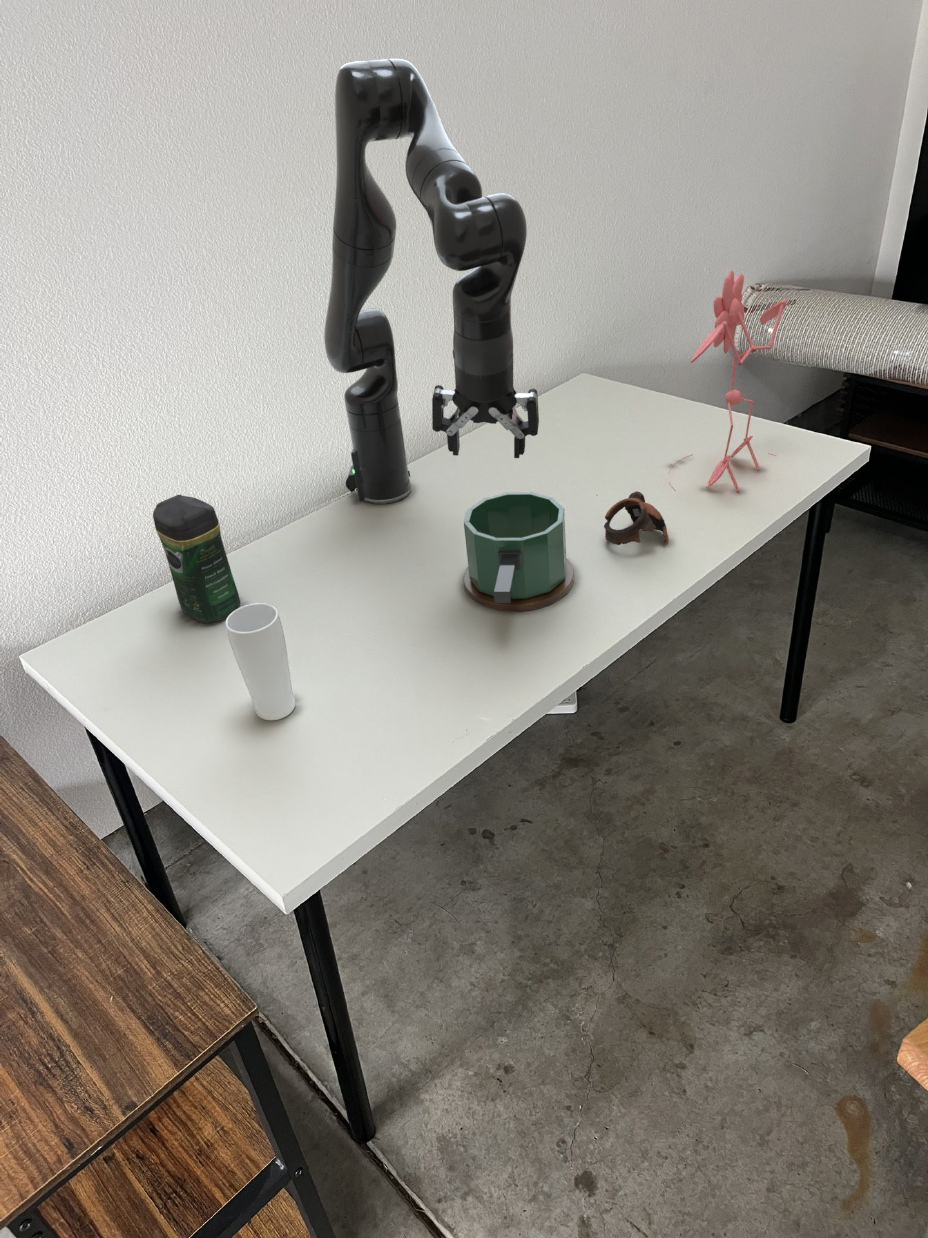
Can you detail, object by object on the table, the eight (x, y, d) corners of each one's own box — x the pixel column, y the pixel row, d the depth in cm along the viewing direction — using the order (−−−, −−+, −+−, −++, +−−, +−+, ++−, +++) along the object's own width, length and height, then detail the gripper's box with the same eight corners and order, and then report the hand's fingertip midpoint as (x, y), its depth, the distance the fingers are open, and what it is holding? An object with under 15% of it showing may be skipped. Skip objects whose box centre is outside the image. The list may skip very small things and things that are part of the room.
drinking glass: (253, 696, 130) (227, 605, 122) (302, 690, 130) (280, 599, 122) (248, 729, 125) (221, 636, 116) (300, 722, 125) (276, 629, 116)
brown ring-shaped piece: (675, 555, 150) (653, 523, 145) (621, 576, 154) (597, 545, 149) (668, 503, 158) (647, 470, 153) (616, 524, 162) (594, 493, 157)
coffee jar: (250, 607, 149) (222, 501, 138) (207, 631, 144) (174, 523, 134) (216, 587, 155) (186, 484, 144) (174, 609, 150) (140, 505, 140)
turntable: (460, 614, 142) (460, 607, 141) (467, 554, 156) (466, 548, 155) (576, 609, 140) (575, 602, 139) (572, 549, 154) (572, 542, 153)
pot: (477, 547, 154) (472, 492, 148) (568, 547, 151) (566, 491, 146) (454, 638, 134) (446, 578, 129) (558, 639, 132) (555, 578, 126)
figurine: (781, 451, 175) (802, 254, 155) (723, 513, 159) (739, 301, 139) (703, 437, 183) (713, 247, 163) (640, 494, 167) (643, 291, 147)
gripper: (541, 339, 122) (539, 437, 135) (431, 335, 123) (439, 433, 136) (537, 375, 117) (535, 473, 130) (423, 371, 119) (432, 468, 131)
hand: (486, 452), depth 133 cm, fingers open, 8 cm apart
